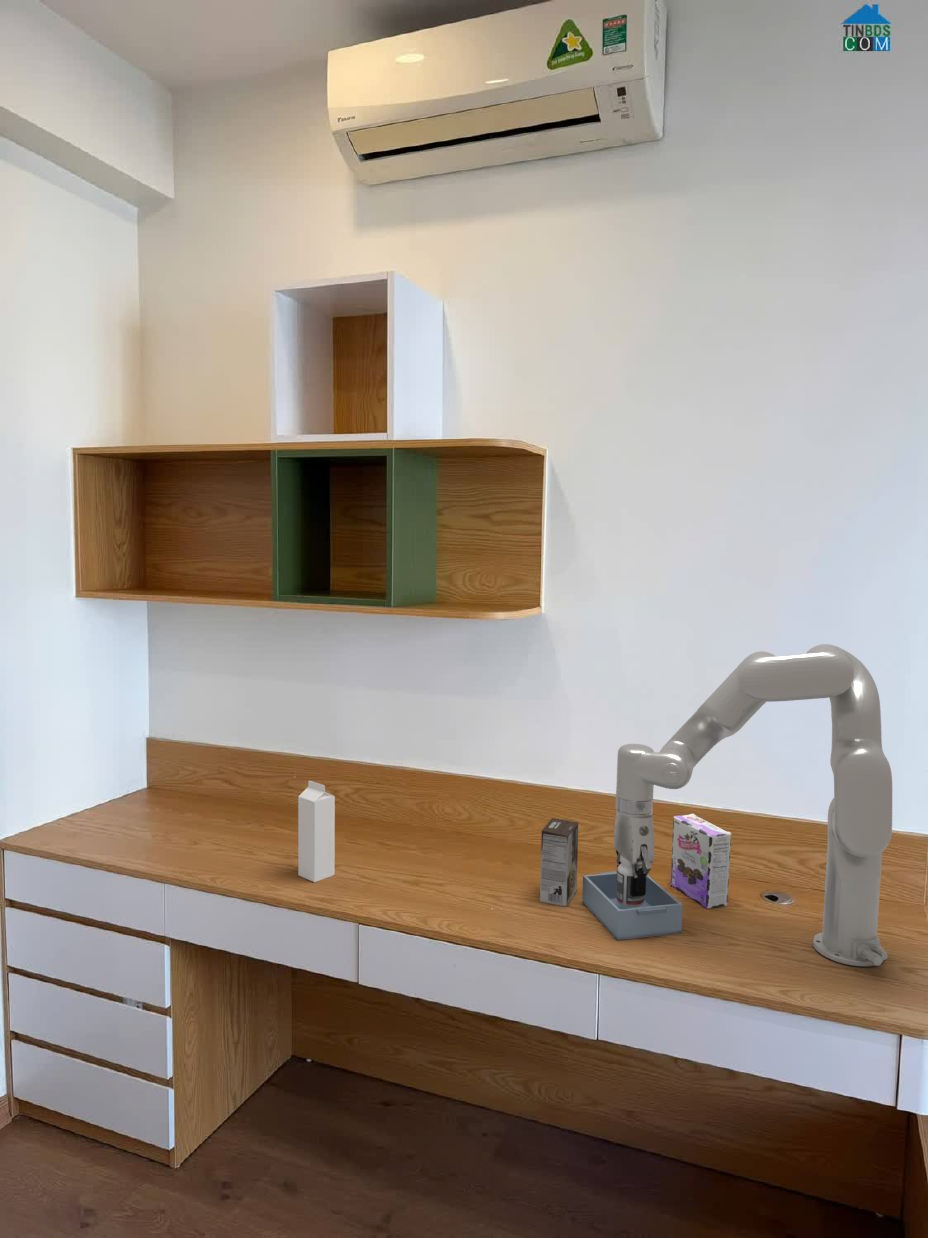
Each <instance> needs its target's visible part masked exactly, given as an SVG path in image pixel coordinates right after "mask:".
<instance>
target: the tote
mask: <svg viewBox="0 0 928 1238" xmlns="http://www.w3.org/2000/svg"><path fill="white" fill-rule="evenodd" d="M581 894H582V895H581V897H582V898H581V901H582V904H583V905H584V906H585V907H586V908H587V909H588V911H589V912H591V914H592V915H593V916H594V917H595V918H596V919H597V920H598V921H599V922H600V923H601V924H602V926H603V927H604V928H605V929H606V930H607V931H608V932H609V933H610V934H611V935H612V936H613V937H614V938H615V939H616V941H623V940H630V939H631V940H632V939H642V938H650V937H659V936H668V935H677V934H682V933H683V931H682V930H683V929H682V928H683V912H684V910H683V907H684V905H683V903H682V902H680V901H679V900H678V899H677V898H676V897H675V896H674V895H672V894H671V893H670V892H668V891H667V890H666V889H665V888H664V887H663V886H661V885H660V884H659V883H658V882H656V881H655V880H654V879H653V878H651V876H649V875H648V876H647V878H646V894H645V895H644V903H643V904H642V905H641V906H638V907H627V906H624V905H621V904H620V903H618V901H617V870H616V871H615V870H613V871H607V872H606V871H605V872H603V871H602V872H598V873H597V874H587V875H582V893H581Z"/></svg>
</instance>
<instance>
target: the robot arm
mask: <svg viewBox="0 0 928 1238" xmlns="http://www.w3.org/2000/svg"><path fill="white" fill-rule="evenodd" d="M828 698H829V701H830V702H829V703H830V707H831V709H830V711H831V716H830V717H831V750H830V751H831V752H830V767H831V771H832V774H833V791H834V792H833V796H834V797H833V798H832V799H831V801H830V804H829V806H828V811H827V846H826V847H827V850H826V865H825V881H824V882H825V883H824V900H823V915H822V916H823V917H822V932H819V933H817V934H815V935H814V936H813V939H812V940H813V944H812V945H813V947H814V949H815V950H816V951H817V952H818V953H819V954H820V955H822V956H824V958H825V957H826V958H827V959H830V960H832V961H834V962H836V963H839V964H843V965H847V966H848V965H849V966H854V967H864V968H865V967H874V966H877V967H878V966H881V964H883V962H884V961H885V960H887V959H888V958H889V954H888V953H887V952H886V951H885V950H884V948H883V946H881V938H880V937H878V924H879V923H878V921H879V908H880V894H881V893H880V891H881V877H882V866H883V865H882V862H883V852H884V851H885V850H886V849H887V847H888V846H889V844H890V842H891V840H892V834H893V833H892V832H893V776H892V775H893V774H892V773H893V772H892V769H891V765H890V761H888V758H887V756H886V755H885V753H884V749H883V745H882V743H883V742H882V740H883V739H882V717H881V716H882V715H881V714H882V713H881V712H882V711H881V701H880V694H879V689H878V686H877V684H876V682H875V680H874V678H873V676H872V675H871V673H870V671H869V669H868V668H867V667H866V666H865V664H864V663H862V661H861V660H860V659H858V657H856V656H855V655H853V654H852V653H850V652H849V651H847V650H845V649H844V648H841V647H839V646H836V645H833V644H828V643H822V644H818V645H815V646H813V647H812V648H810V649H809V650H808V651H807V652H806V653H799V654H788V655H775V654H773V653H770V652H768V651H764V650H763V651H762V650H761V651H755V652H753V653H750V654H749V655H748V656H746V657H745V658H744V659H743V660H742V661H741V662H740V663H739V664H738V665H737V667H736V668H734V670H733V671H732V672H731V673H730V674H728V676H727V677H726V678H725V679H724V680H723V682H721V684H720V685H718V687H717V688H716V689H715V690H714V691H713V693H712V694H710V695H709V696H708V698H706V699H705V701H704V702H703V703H702V704H701V705H700V706H699V707H698V709H697V710H696V711H695V712H694V714H692V715H691V716H690V718H688V719H687V721H686V722H685V723H684V724H683V725H682V726H681V727H680V728H679V729H678V730H677V731H676V732H675V733H674V734H673V735H672V737H671V738H670V739H669V740H668V741H667V742H666V743H665V744H664V745H663V746H662V748H661V749H660V751H659V752H658V751H657V752H655V751H654V749H653V748H652V747H650V746H648V745H646V744H645V745H644V744H640V743H628V744H627V743H626V744H624V745H621V746H620V747H619V749H618V750H617V761H616V762H617V764H616V787H615V789H616V790H615V791H616V792H615V812H616V814H615V820H614V821H615V823H614V833H613V836H614V837H613V846H614V849H615V854H616V856H617V857H616V864H617V865H616V870H617V869H618V866H619V865H620V864H621V862H620V855H622V856H623V857H624V858H626V859H627V860H628V861H629V862H631V864H632V873H633V877H631V886H630V895H631V896H632V897H634V896H644V895H645V894H646V878H647V876H649V873H650V871H651V870H652V864H653V863H654V861H655V829H654V828H655V827H654V819H653V818H654V817H653V810H654V809H653V806H654V805H653V804H654V789H655V788H654V786H657V787H660V788H664V789H666V790H667V789H669V790H678V789H679V790H680V789H682V788H683V787H686V785H688V783H689V782H690V781H691V778H692V775H693V770H694V768H695V767H696V766H697V764H699V762H700V761H701V760H702V759H703V758H704V757H705V756H706V755H707V754H708V753H709V752H710V751H711V750H712V749H713V748H714V747H715V746H716V745H717V744H718V743H720V742H721V741H722V740H724V739H726V738H729V737H732V736H734V735H735V734H737V733H738V732H739V731H740V730H742V728H743V727H744V725H746V723H748V721H750V720H751V718H752V717H753V716H754V715H756V713H757V712H758V711H759V710H760V708H762V707H763V706H764V705H765V704H766V703H770V702H774V703H775V702H791V701H792V702H793V701H802V700H803V701H804V700H806V701H807V700H814V699H815V700H818V699H828ZM637 859H641V860H642V861H641V862H637ZM636 865H642V867H641V868H639V869H638V870H637V866H636Z"/></svg>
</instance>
